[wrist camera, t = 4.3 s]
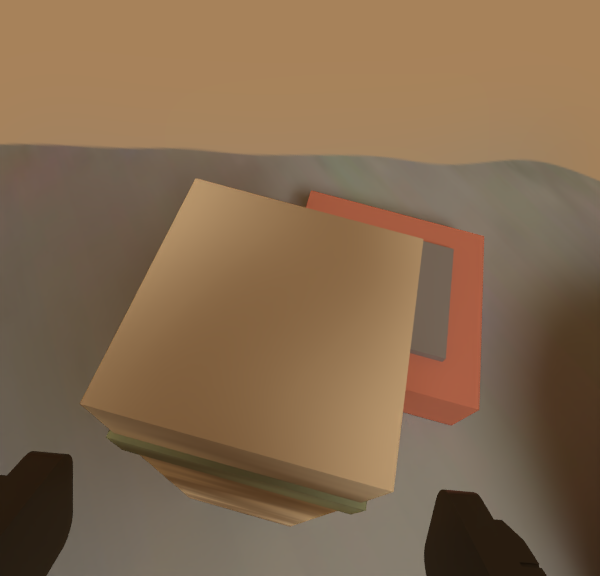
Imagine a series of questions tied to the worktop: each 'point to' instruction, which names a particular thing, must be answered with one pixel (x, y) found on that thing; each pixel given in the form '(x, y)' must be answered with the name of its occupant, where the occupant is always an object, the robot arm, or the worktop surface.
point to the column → (266, 357)
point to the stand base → (435, 311)
